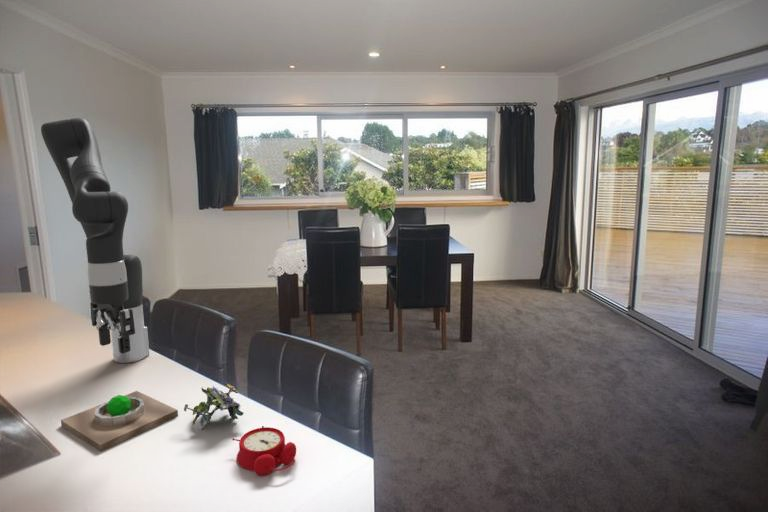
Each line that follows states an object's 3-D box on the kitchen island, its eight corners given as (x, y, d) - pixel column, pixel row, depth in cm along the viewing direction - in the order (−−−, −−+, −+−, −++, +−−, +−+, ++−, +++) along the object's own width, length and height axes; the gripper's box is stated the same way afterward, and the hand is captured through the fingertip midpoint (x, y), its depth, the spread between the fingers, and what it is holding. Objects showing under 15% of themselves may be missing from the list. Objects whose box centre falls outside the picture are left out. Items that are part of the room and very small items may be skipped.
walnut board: (137, 396, 124) (136, 390, 124) (178, 415, 115) (177, 409, 114) (61, 426, 109) (60, 420, 109) (100, 451, 100) (100, 444, 100)
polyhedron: (133, 416, 111) (131, 397, 110) (109, 423, 108) (107, 403, 107) (130, 408, 115) (128, 389, 114) (107, 413, 112) (105, 395, 111)
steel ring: (130, 400, 119) (129, 393, 118) (152, 412, 113) (152, 404, 113) (87, 417, 110) (86, 409, 110) (109, 430, 105) (108, 422, 105)
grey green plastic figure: (233, 438, 115) (256, 406, 111) (193, 451, 106) (216, 417, 102) (212, 401, 120) (234, 370, 116) (172, 411, 111) (194, 377, 107)
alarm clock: (267, 420, 106) (305, 431, 96) (271, 447, 106) (310, 462, 96) (224, 438, 99) (260, 452, 88) (228, 467, 99) (265, 485, 88)
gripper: (141, 281, 106) (147, 349, 109) (108, 273, 113) (115, 337, 116) (107, 288, 99) (114, 360, 102) (74, 279, 107) (82, 346, 110)
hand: (115, 348), depth 109 cm, fingers open, 8 cm apart
